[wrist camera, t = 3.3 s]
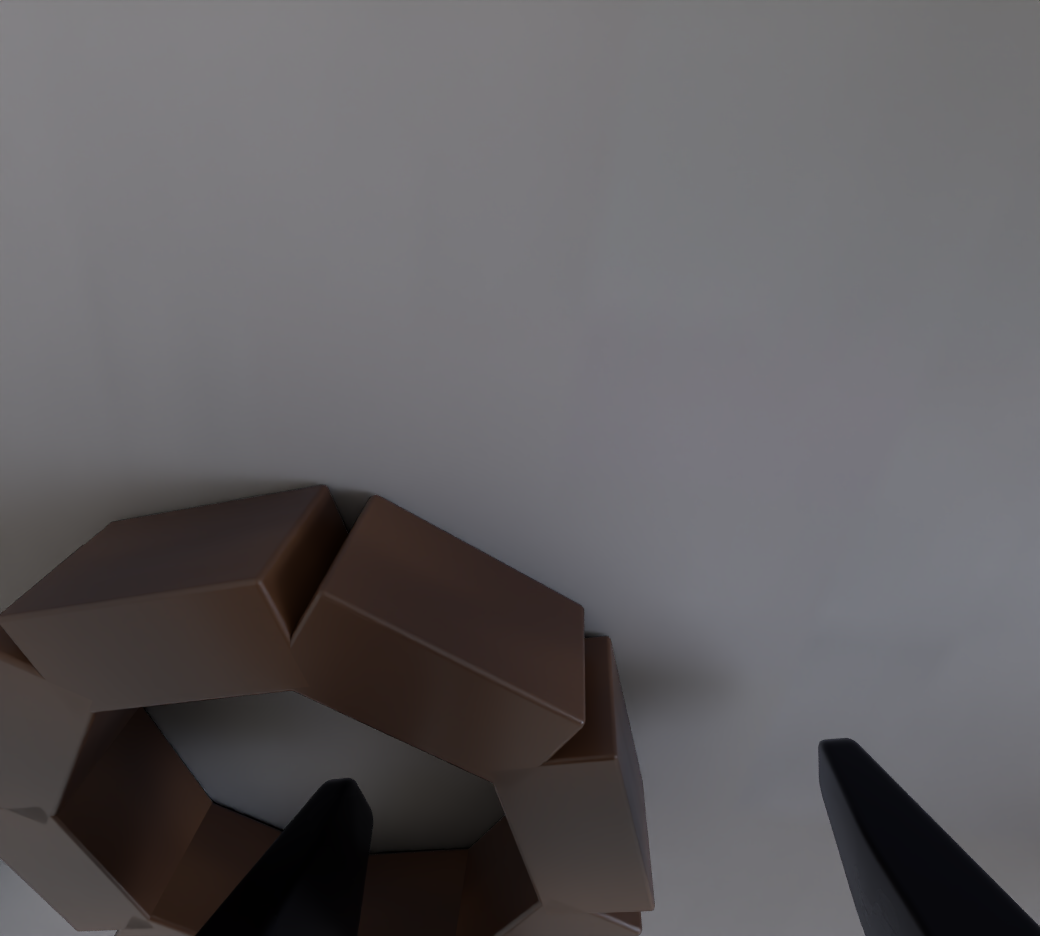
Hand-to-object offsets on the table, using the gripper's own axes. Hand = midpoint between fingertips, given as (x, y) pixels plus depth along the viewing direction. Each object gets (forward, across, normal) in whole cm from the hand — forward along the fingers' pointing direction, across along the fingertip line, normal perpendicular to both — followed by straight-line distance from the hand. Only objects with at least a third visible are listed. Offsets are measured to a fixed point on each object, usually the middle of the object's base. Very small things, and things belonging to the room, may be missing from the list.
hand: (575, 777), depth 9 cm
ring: (+1, +4, 0) cm, 4 cm away
